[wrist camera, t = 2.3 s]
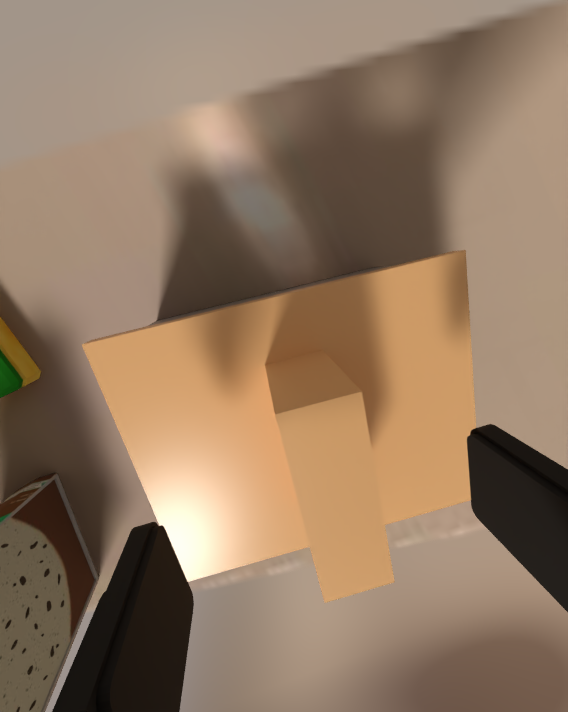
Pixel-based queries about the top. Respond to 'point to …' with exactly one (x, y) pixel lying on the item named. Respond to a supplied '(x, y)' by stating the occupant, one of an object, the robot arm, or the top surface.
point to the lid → (301, 419)
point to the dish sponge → (14, 363)
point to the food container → (39, 592)
